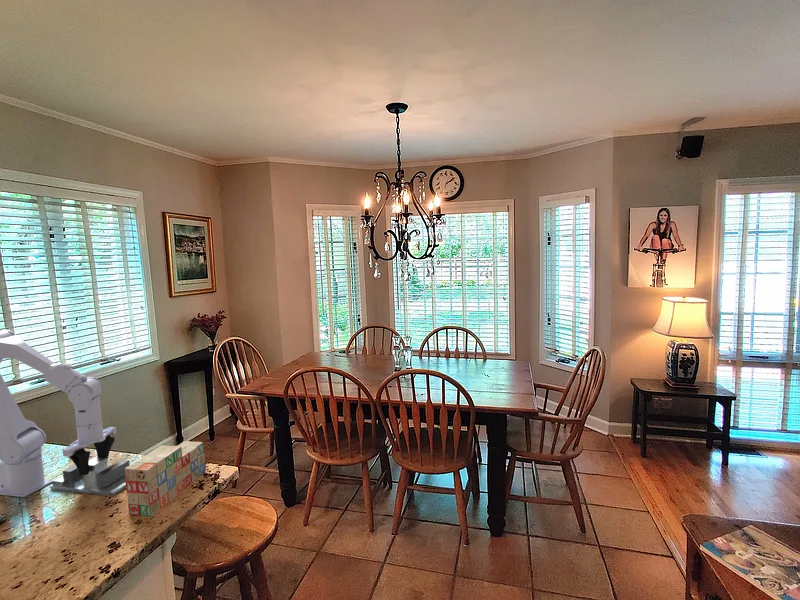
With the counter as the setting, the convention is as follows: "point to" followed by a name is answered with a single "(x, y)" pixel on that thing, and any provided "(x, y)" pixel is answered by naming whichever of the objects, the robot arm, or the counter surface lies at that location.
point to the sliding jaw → (112, 473)
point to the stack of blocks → (162, 476)
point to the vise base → (85, 483)
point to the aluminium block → (95, 469)
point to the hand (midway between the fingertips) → (93, 468)
